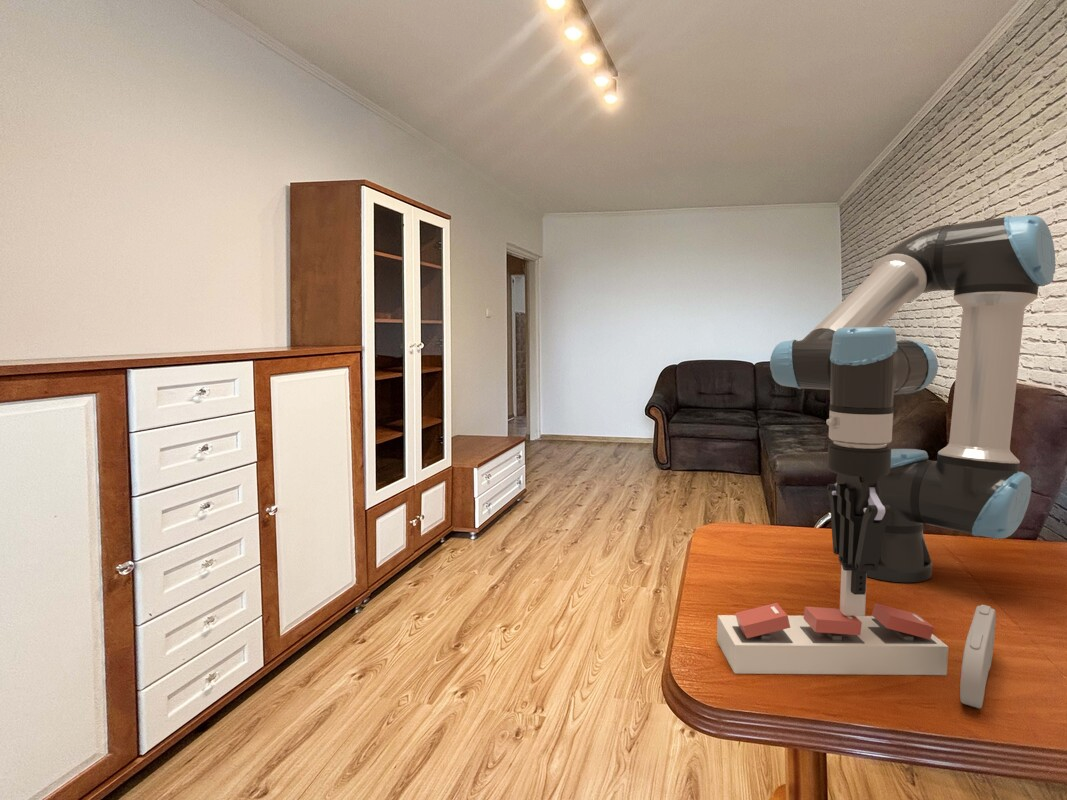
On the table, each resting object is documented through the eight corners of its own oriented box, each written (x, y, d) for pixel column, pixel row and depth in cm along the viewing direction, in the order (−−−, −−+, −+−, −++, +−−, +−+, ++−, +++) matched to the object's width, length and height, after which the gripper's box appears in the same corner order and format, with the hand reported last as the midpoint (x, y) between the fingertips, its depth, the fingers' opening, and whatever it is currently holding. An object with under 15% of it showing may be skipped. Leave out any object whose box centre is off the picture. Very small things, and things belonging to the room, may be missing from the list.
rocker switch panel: (908, 642, 92) (910, 611, 92) (946, 675, 83) (948, 641, 83) (716, 640, 93) (717, 610, 93) (734, 673, 84) (735, 640, 84)
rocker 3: (912, 625, 88) (917, 613, 88) (929, 639, 84) (934, 626, 84) (871, 614, 88) (875, 602, 88) (886, 628, 84) (891, 615, 84)
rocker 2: (846, 621, 88) (847, 608, 88) (860, 635, 84) (861, 621, 84) (803, 618, 88) (804, 605, 88) (815, 632, 84) (816, 618, 84)
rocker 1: (779, 614, 88) (776, 601, 88) (790, 627, 84) (787, 614, 84) (738, 624, 89) (734, 612, 88) (746, 638, 85) (743, 625, 84)
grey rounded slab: (973, 650, 90) (977, 595, 89) (993, 655, 88) (997, 599, 88) (955, 713, 75) (960, 647, 74) (979, 721, 74) (984, 654, 73)
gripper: (810, 435, 90) (805, 593, 92) (854, 452, 77) (846, 635, 79) (863, 435, 90) (856, 593, 92) (916, 451, 77) (907, 635, 79)
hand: (852, 612), depth 86 cm, fingers closed
